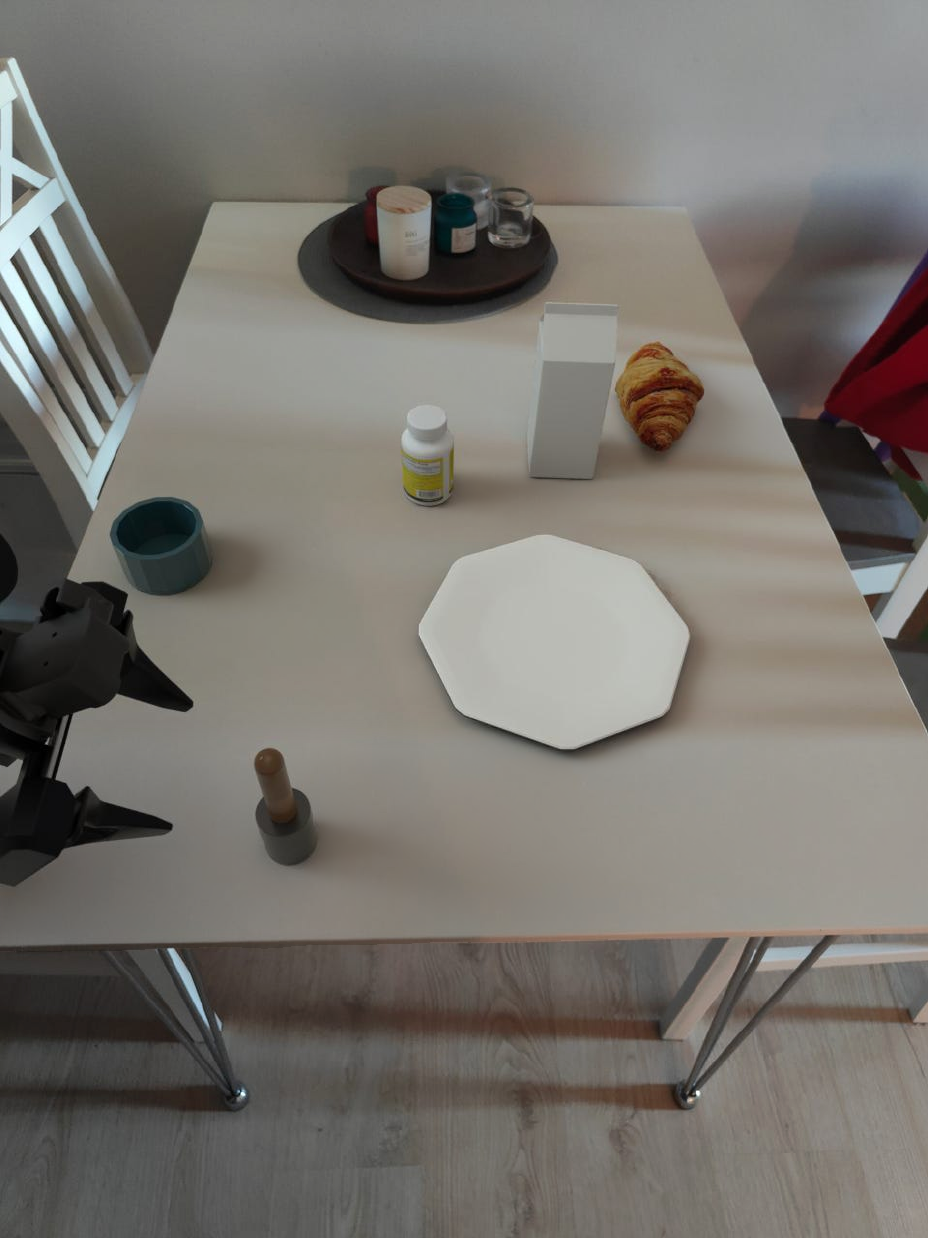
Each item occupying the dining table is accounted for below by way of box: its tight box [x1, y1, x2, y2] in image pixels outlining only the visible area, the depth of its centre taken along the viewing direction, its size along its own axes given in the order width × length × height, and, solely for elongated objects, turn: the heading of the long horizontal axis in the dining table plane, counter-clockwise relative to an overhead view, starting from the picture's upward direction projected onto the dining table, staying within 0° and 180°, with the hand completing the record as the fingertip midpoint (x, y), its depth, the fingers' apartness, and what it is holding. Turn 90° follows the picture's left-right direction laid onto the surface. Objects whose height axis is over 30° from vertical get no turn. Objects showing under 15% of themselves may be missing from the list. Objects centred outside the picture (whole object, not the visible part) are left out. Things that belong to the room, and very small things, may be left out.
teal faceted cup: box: [109, 496, 213, 596], centre depth 82 cm, size 8×8×5 cm
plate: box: [418, 534, 691, 751], centre depth 79 cm, size 24×24×2 cm
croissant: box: [614, 340, 705, 453], centre depth 101 cm, size 21×10×8 cm, turn 175°
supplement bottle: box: [400, 404, 455, 507], centre depth 88 cm, size 5×5×10 cm
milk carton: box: [526, 301, 620, 480], centre depth 89 cm, size 7×7×19 cm
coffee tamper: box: [253, 747, 318, 866], centre depth 61 cm, size 4×4×13 cm
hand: (180, 765), depth 56 cm, fingers open, 9 cm apart
